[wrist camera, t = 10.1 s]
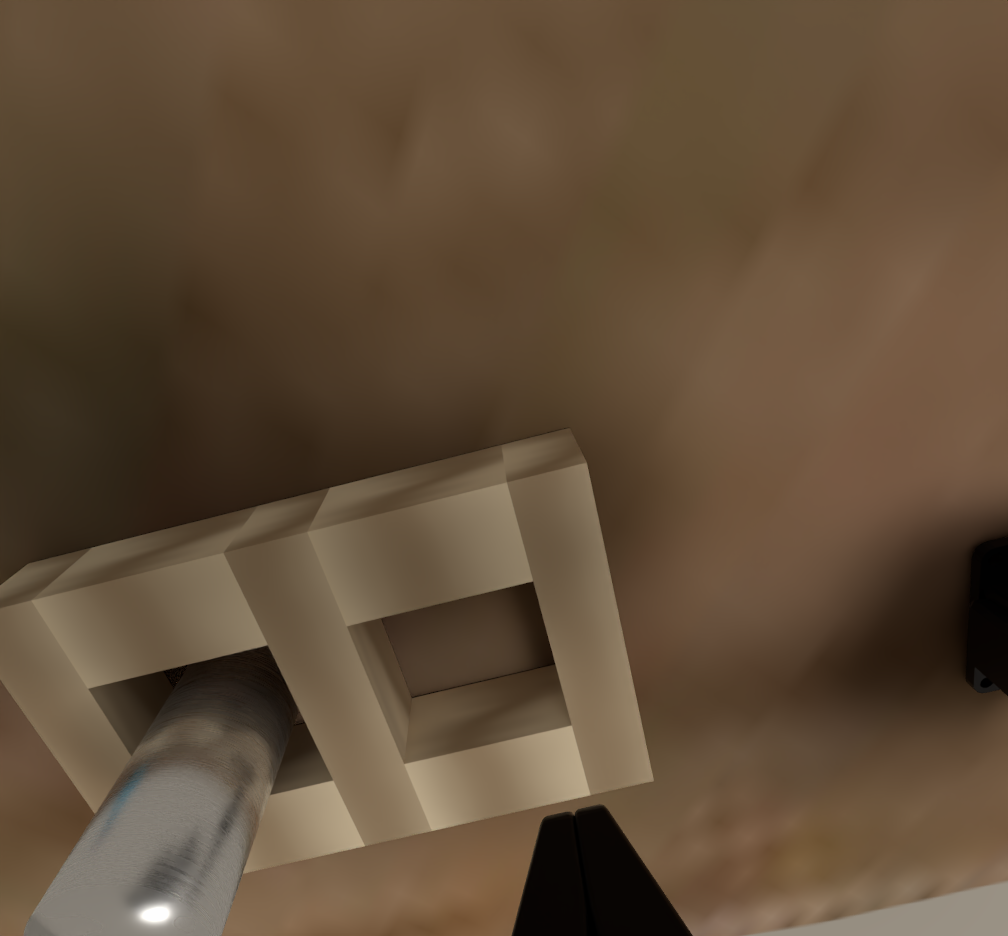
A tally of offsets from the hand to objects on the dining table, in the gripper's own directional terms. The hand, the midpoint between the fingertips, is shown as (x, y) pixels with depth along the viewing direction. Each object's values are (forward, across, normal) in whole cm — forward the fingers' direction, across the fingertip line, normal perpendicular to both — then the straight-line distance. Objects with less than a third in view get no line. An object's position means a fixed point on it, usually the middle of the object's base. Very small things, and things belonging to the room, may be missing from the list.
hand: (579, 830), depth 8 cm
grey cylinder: (+12, +11, +5) cm, 17 cm away
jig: (+12, +7, +5) cm, 15 cm away
